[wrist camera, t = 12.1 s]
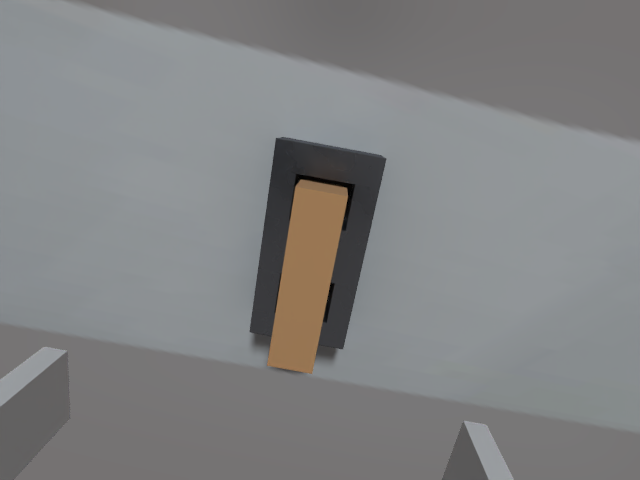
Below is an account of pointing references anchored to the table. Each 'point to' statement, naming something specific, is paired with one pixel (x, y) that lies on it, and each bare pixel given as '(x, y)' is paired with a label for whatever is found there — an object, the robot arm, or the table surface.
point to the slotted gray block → (353, 237)
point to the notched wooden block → (306, 273)
